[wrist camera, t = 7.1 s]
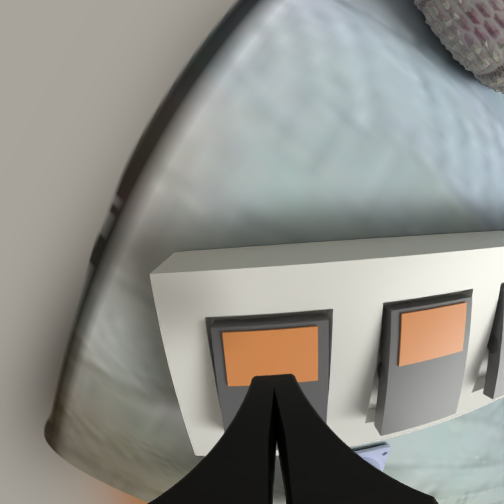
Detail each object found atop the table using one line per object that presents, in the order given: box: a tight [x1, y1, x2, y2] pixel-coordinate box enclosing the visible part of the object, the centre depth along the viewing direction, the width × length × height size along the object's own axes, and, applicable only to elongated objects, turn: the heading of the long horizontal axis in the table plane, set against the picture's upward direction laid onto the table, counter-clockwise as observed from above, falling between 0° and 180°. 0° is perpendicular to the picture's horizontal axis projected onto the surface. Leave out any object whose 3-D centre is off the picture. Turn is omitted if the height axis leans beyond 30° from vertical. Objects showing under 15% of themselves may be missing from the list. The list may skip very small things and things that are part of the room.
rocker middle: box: [374, 294, 472, 436], centre depth 13 cm, size 7×5×2 cm
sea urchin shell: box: [414, 0, 504, 94], centre depth 8 cm, size 13×14×8 cm
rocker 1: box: [211, 313, 329, 450], centre depth 13 cm, size 7×5×2 cm
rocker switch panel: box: [150, 230, 504, 456], centre depth 15 cm, size 12×26×4 cm, turn 94°
